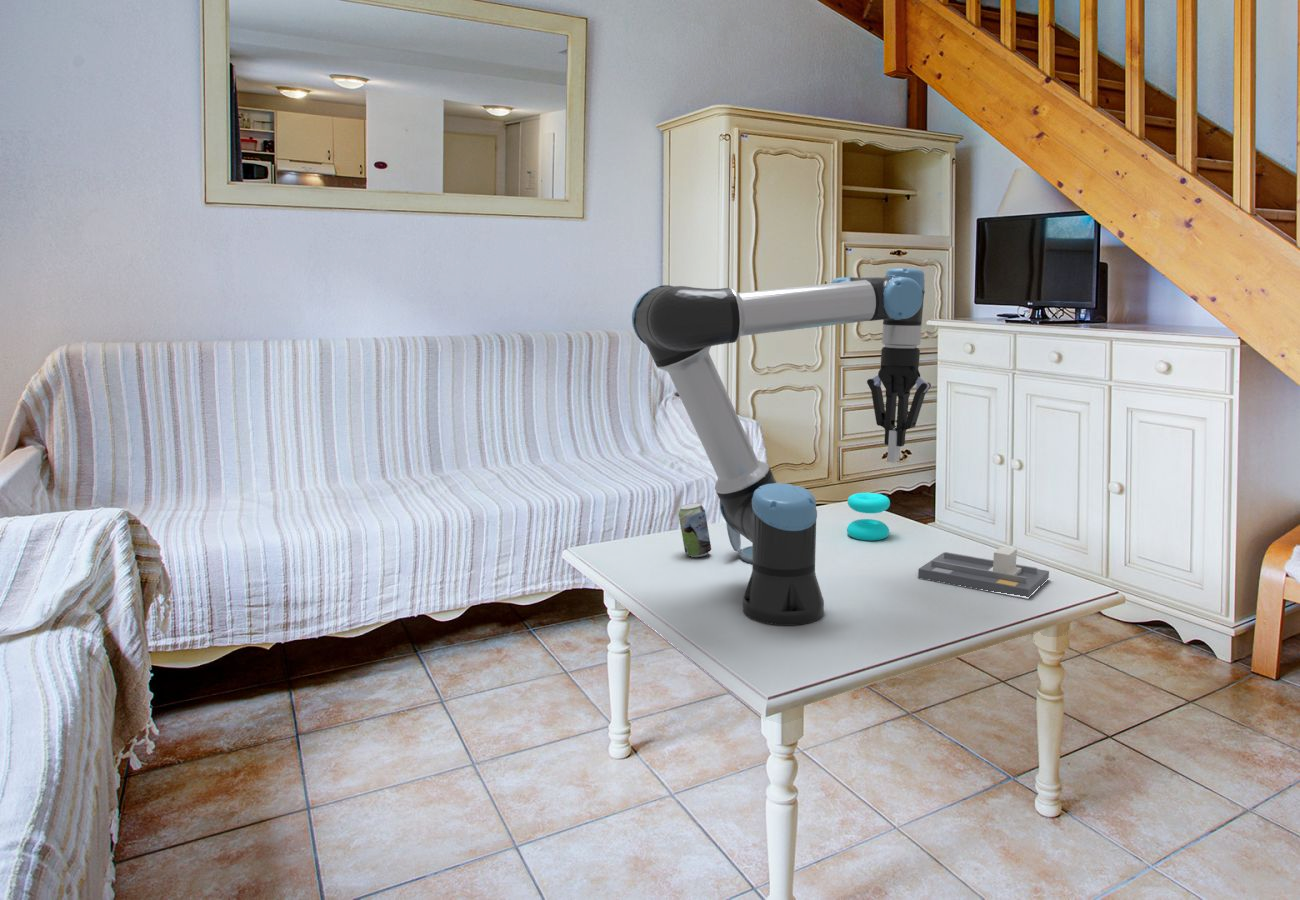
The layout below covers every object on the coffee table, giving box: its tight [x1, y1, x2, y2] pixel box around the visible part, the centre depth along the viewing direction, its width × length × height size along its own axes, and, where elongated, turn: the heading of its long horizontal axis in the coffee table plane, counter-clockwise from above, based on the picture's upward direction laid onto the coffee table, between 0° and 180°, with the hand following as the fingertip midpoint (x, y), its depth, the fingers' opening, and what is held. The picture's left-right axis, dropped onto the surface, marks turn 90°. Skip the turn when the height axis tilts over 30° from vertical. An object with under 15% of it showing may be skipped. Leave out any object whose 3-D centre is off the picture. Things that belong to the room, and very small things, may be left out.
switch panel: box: [917, 551, 1050, 597], centre depth 185 cm, size 14×22×3 cm, turn 51°
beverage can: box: [678, 502, 712, 558], centre depth 204 cm, size 6×7×12 cm
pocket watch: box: [725, 521, 753, 564], centre depth 201 cm, size 10×11×15 cm
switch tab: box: [989, 546, 1022, 575], centre depth 182 cm, size 6×5×5 cm
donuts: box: [846, 492, 891, 542], centre depth 217 cm, size 10×10×10 cm
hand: (893, 461), depth 185 cm, fingers closed
